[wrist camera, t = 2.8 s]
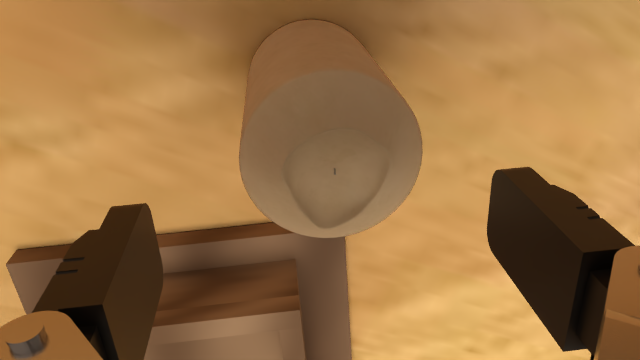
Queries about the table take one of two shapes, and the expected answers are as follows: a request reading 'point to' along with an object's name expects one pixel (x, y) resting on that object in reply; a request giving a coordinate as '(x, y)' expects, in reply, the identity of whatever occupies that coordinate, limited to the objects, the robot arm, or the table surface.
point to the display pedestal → (232, 294)
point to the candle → (325, 133)
